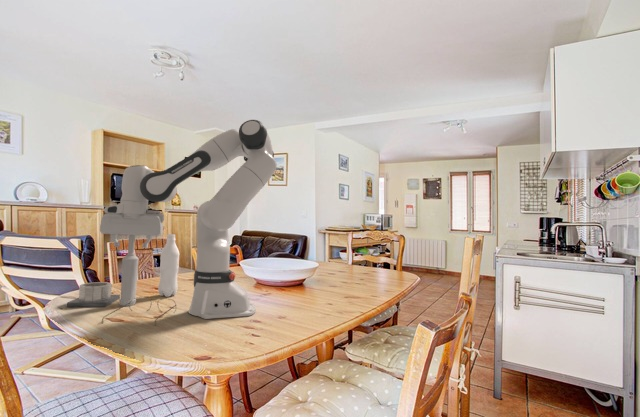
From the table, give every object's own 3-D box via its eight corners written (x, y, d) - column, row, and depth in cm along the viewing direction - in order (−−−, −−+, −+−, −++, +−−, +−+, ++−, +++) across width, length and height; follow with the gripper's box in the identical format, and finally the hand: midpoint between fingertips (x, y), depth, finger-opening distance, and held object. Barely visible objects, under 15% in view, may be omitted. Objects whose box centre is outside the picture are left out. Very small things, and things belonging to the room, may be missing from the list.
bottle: (126, 307, 113) (131, 235, 114) (115, 305, 115) (120, 235, 116) (139, 303, 118) (143, 235, 119) (128, 302, 120) (133, 234, 121)
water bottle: (161, 293, 135) (165, 233, 136) (179, 293, 136) (183, 234, 137) (155, 297, 128) (159, 234, 129) (173, 297, 129) (177, 235, 130)
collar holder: (119, 298, 124) (120, 281, 124) (105, 306, 112) (106, 288, 113) (84, 298, 122) (86, 281, 122) (66, 307, 110) (67, 287, 110)
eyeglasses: (177, 313, 110) (178, 298, 110) (155, 327, 95) (156, 310, 95) (131, 311, 110) (132, 296, 110) (101, 325, 95) (102, 308, 96)
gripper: (166, 211, 123) (164, 247, 122) (107, 208, 119) (104, 245, 118) (161, 210, 117) (159, 249, 116) (99, 207, 113) (96, 247, 112)
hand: (131, 247), depth 117 cm, fingers open, 8 cm apart
